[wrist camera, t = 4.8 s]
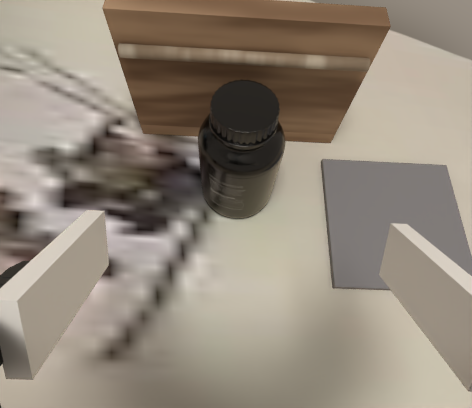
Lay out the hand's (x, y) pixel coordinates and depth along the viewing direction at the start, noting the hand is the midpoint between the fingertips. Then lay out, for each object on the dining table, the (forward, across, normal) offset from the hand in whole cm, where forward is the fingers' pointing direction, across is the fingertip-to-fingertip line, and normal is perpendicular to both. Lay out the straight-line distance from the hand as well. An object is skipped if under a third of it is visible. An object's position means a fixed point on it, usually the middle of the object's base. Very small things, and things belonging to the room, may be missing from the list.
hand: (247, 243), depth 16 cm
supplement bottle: (+18, 0, -3) cm, 18 cm away
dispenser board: (+24, 0, +3) cm, 24 cm away
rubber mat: (+16, +15, -5) cm, 23 cm away
